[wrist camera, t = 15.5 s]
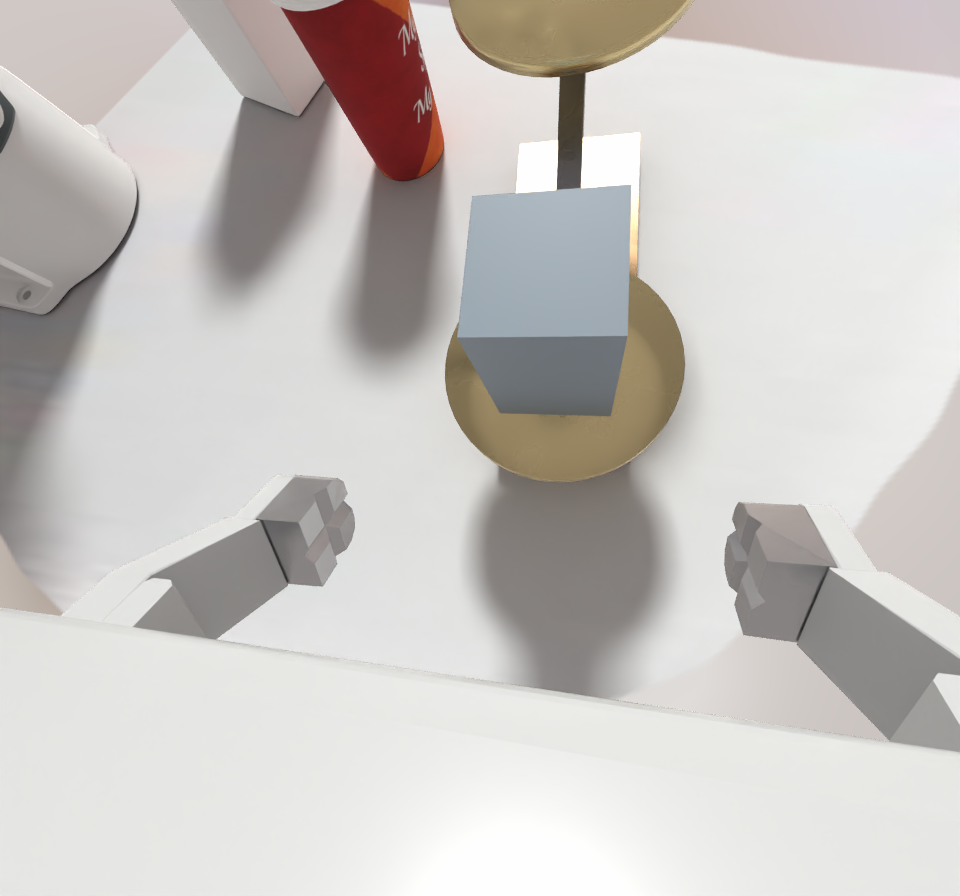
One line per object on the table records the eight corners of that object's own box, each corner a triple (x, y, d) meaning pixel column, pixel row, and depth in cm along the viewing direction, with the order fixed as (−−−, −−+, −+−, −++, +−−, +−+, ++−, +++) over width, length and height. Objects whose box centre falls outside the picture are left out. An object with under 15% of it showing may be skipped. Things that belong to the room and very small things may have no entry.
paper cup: (475, 154, 35) (412, -89, 22) (390, 211, 36) (277, 7, 23) (428, 92, 38) (344, -163, 24) (348, 146, 38) (223, -75, 25)
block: (499, 413, 22) (457, 337, 14) (508, 315, 23) (472, 196, 16) (610, 416, 21) (627, 335, 13) (614, 313, 22) (631, 183, 14)
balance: (471, 494, 30) (383, 444, 17) (505, 134, 35) (459, -117, 22) (655, 506, 27) (725, 460, 14) (660, 118, 33) (713, -174, 20)
